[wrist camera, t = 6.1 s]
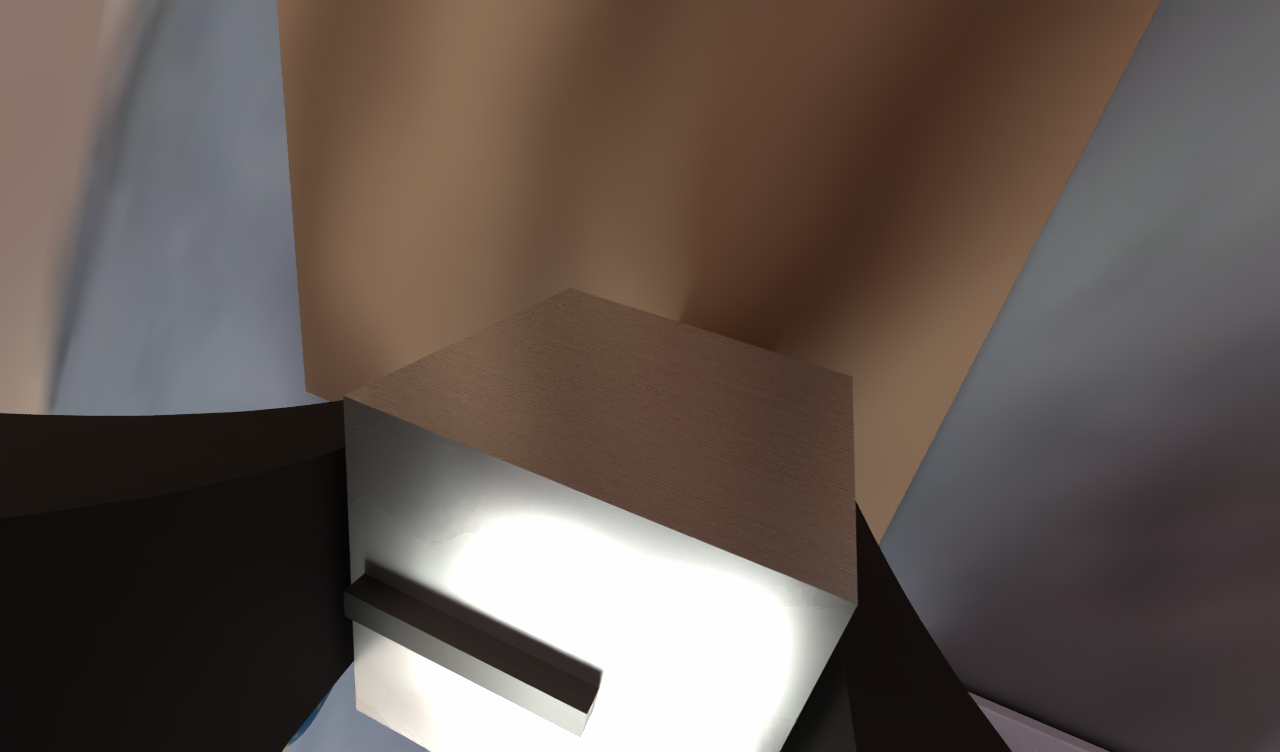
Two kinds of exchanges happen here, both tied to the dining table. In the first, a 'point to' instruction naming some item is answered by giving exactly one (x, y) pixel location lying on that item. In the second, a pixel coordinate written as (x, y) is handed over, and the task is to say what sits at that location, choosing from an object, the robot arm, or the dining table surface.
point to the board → (691, 177)
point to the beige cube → (598, 536)
